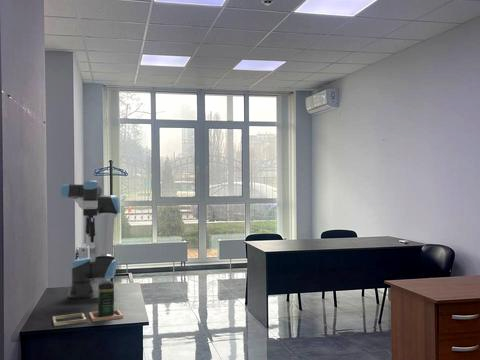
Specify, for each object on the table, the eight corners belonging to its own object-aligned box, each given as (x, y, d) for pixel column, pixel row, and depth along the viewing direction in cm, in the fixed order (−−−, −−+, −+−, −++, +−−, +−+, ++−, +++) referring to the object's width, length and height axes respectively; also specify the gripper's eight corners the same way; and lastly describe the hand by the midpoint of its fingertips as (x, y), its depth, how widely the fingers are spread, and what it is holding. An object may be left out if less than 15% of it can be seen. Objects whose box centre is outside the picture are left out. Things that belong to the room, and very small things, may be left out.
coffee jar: (114, 318, 237) (114, 282, 238) (98, 319, 235) (98, 283, 235) (113, 313, 247) (113, 278, 247) (97, 314, 244) (98, 279, 245)
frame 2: (89, 315, 243) (89, 312, 243) (118, 312, 250) (118, 309, 250) (92, 321, 232) (92, 318, 232) (122, 318, 238) (122, 315, 238)
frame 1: (52, 319, 236) (52, 316, 236) (83, 315, 242) (83, 313, 242) (54, 326, 224) (54, 322, 224) (86, 322, 230) (86, 319, 230)
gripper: (80, 207, 264) (80, 244, 264) (86, 209, 242) (85, 249, 241) (94, 207, 268) (94, 244, 267) (100, 209, 245) (100, 249, 245)
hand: (90, 247), depth 254 cm, fingers open, 13 cm apart
